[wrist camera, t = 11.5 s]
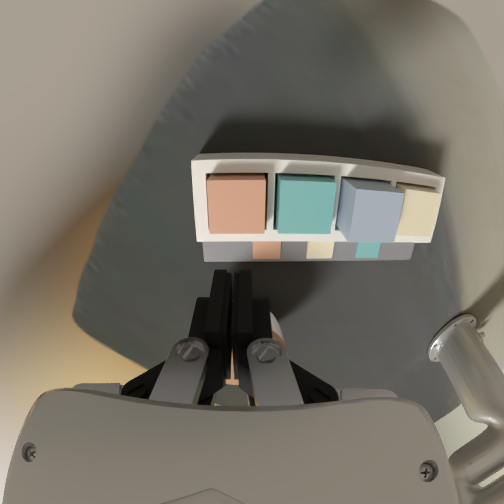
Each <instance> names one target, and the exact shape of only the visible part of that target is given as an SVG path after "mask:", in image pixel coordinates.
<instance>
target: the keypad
mask: <svg viewBox="0 0 504 504" xmlns="http://www.w3.org/2000/svg"><path fill="white" fill-rule="evenodd" d="M191 166H192V184H193V199H194V212H195V225H196V236H197V242H203V252H204V262H234V261H359V260H410V258H411V255H412V251H413V248H414V244H415V243H430V242H431V239H432V235H433V231H434V228H435V224H436V220H437V216H438V211H439V207H440V203H441V198H442V193H443V188H444V183H445V178H444V177H442V176H440V175H438V174H436V173H434V172H432V171H429V170H427V169H424V168H418V167H413V166H407V165H401V164H394V163H387V162H380V161H373V160H365V159H356V158H346V157H335V156H323V155H308V154H288V153H207V154H198V155H197V156H196V157H195V158H194V159H192V160H191ZM211 173H265V179H266V196H265V233H264V234H210V231H209V215H208V197H207V179H208V178H209V176H210V174H211ZM275 173H295V174H317V175H328V176H329V177H330V178H331V179H333V180H334V181H335V182H336V183H337V184H336V193H335V202H334V210H333V218H332V225H331V233H330V234H278V231H277V227H276V223H275V219H274V195H275ZM341 176H347V177H358V178H369V179H379V180H383V181H385V182H387V183H388V184H390V185H392V186H393V187H395V188H396V182H404V183H411V184H418V185H425V186H428V187H430V188H432V189H433V190H435V191H437V192H439V193H440V194H441V197H440V202H439V206H438V211H437V215H436V219H435V223H434V227H433V231H432V235H431V236H404V235H396V236H395V240H394V243H369V242H348V241H347V240H346V239H345V237H344V236H343V234H342V233H341V231H340V230H339V229H338V227H337V226H336V217H337V209H338V201H339V192H340V183H341Z"/></svg>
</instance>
